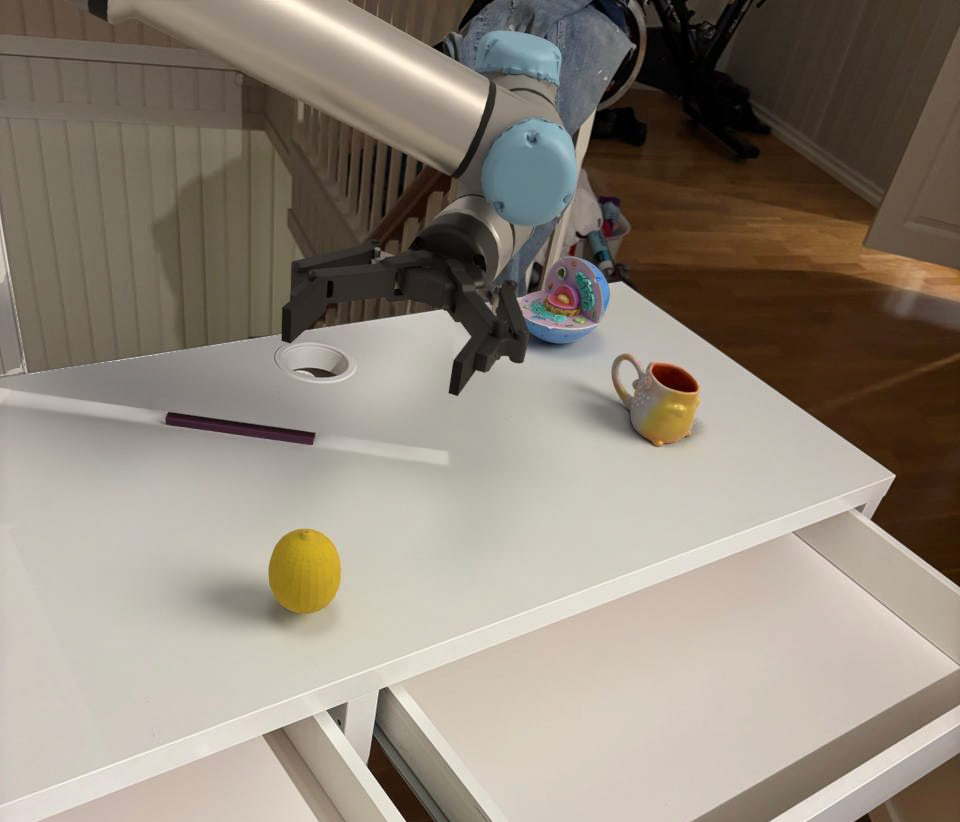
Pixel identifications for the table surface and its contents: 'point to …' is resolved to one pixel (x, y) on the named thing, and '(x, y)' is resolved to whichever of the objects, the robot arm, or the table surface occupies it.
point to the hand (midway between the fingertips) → (369, 352)
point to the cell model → (567, 302)
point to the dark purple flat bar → (239, 428)
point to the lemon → (304, 571)
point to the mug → (659, 399)
